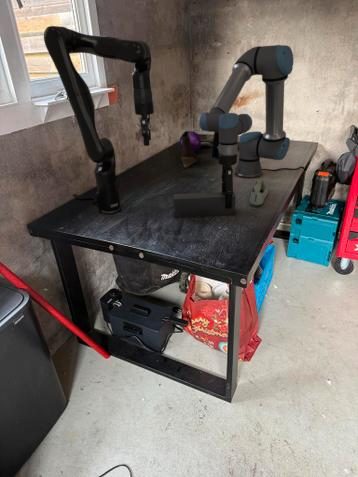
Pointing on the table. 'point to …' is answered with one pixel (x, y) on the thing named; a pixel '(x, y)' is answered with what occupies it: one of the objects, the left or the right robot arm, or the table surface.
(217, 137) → the handbag
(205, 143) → the pair of gloves
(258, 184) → the ballet flat
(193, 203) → the bar
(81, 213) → the table surface
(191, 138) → the decorative orb
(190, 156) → the boot
